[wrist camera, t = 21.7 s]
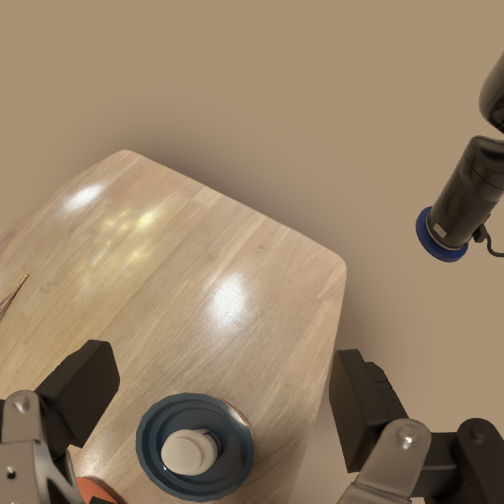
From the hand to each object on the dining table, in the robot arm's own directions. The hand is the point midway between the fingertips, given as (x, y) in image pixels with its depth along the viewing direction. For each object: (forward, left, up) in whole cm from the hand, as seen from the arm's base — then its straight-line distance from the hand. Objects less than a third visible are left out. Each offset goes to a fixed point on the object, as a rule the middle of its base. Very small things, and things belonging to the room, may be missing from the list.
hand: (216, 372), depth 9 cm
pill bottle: (+6, +6, -28) cm, 29 cm away
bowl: (+6, +6, -29) cm, 30 cm away
